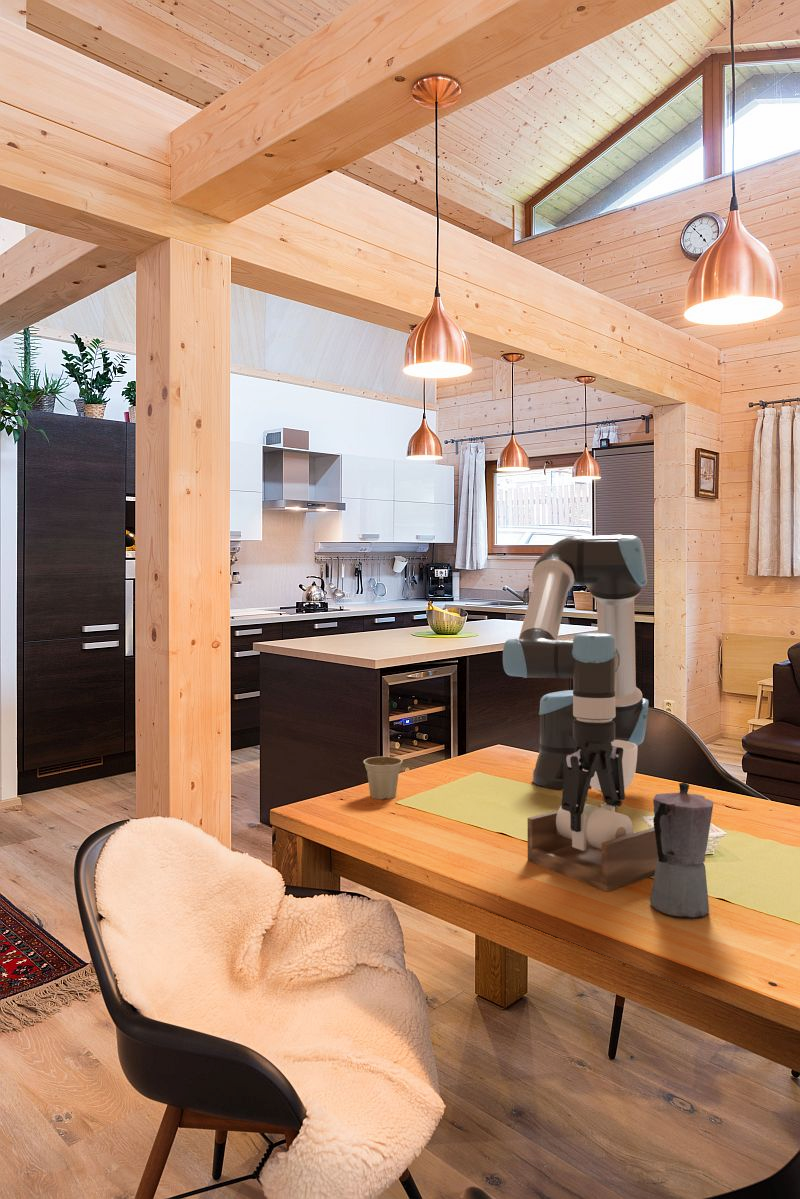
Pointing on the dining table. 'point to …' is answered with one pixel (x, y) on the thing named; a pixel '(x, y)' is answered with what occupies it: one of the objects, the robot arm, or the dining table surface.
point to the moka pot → (681, 853)
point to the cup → (627, 764)
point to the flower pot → (383, 776)
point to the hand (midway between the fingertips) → (593, 844)
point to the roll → (596, 825)
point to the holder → (592, 855)
